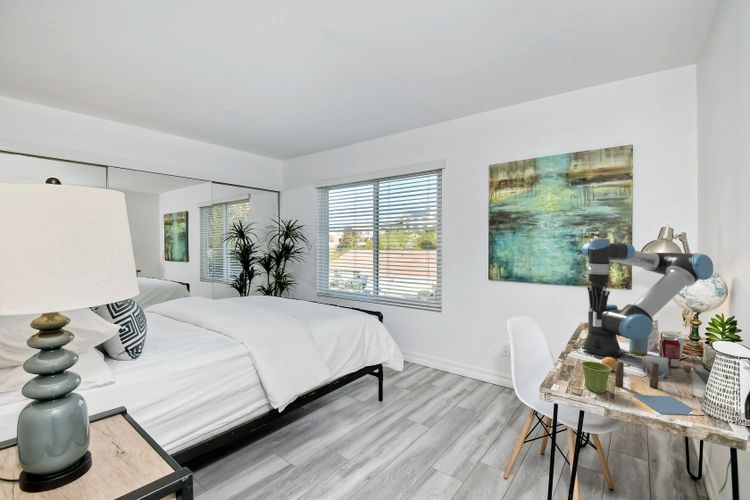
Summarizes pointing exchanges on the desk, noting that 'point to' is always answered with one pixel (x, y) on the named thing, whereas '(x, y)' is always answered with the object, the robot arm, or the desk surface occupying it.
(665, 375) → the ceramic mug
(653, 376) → the post
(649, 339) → the ink cartridge box
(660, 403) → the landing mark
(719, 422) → the desk surface
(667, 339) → the red labelled jar
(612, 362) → the orange round fruit
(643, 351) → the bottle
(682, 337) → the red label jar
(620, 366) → the post
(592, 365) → the plant pot
